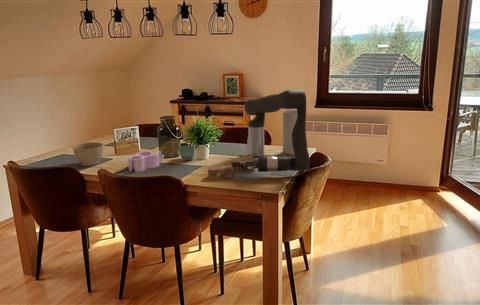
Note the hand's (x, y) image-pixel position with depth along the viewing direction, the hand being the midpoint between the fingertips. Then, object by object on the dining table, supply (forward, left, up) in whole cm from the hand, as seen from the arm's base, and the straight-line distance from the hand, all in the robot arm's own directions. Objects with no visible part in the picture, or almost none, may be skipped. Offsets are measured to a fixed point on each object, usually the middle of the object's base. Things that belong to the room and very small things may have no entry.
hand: (232, 164), depth 191 cm
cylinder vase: (0, +61, -7) cm, 61 cm away
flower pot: (-44, +15, -7) cm, 47 cm away
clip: (-53, -10, -8) cm, 55 cm away
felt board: (+4, +10, -7) cm, 13 cm away
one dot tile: (0, 0, -4) cm, 4 cm away
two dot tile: (+2, +16, -4) cm, 17 cm away
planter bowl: (-84, -23, -7) cm, 88 cm away
